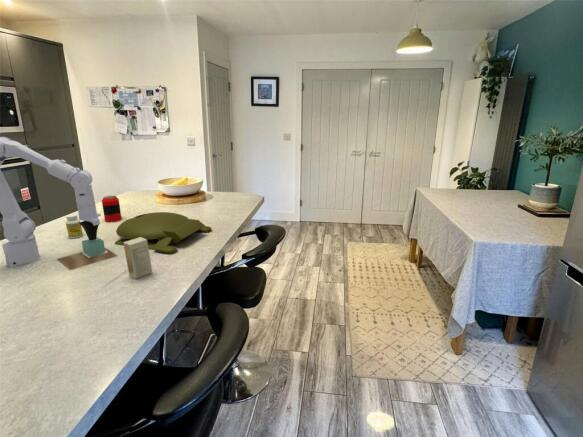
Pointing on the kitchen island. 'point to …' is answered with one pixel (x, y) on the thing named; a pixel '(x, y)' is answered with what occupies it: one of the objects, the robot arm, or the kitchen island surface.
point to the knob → (93, 247)
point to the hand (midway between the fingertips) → (92, 239)
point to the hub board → (84, 259)
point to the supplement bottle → (73, 226)
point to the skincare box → (137, 257)
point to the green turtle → (160, 229)
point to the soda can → (111, 209)
